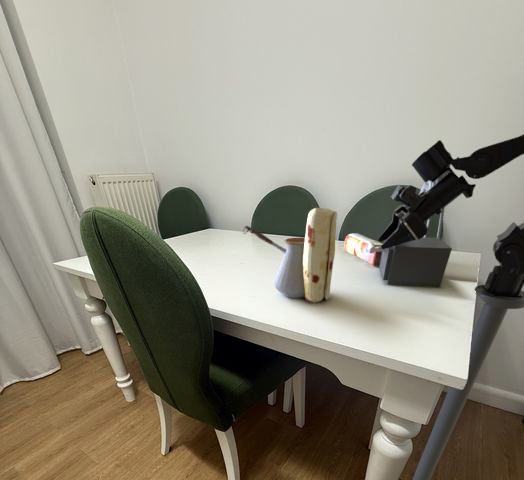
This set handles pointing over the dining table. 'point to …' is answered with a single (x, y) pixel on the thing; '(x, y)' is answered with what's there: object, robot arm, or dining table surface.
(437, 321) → the dining table surface
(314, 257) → the food model
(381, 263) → the grey drawer
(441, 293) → the dining table surface
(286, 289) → the coffee pot
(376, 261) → the snack package
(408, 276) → the dark grey box
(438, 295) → the dining table surface
